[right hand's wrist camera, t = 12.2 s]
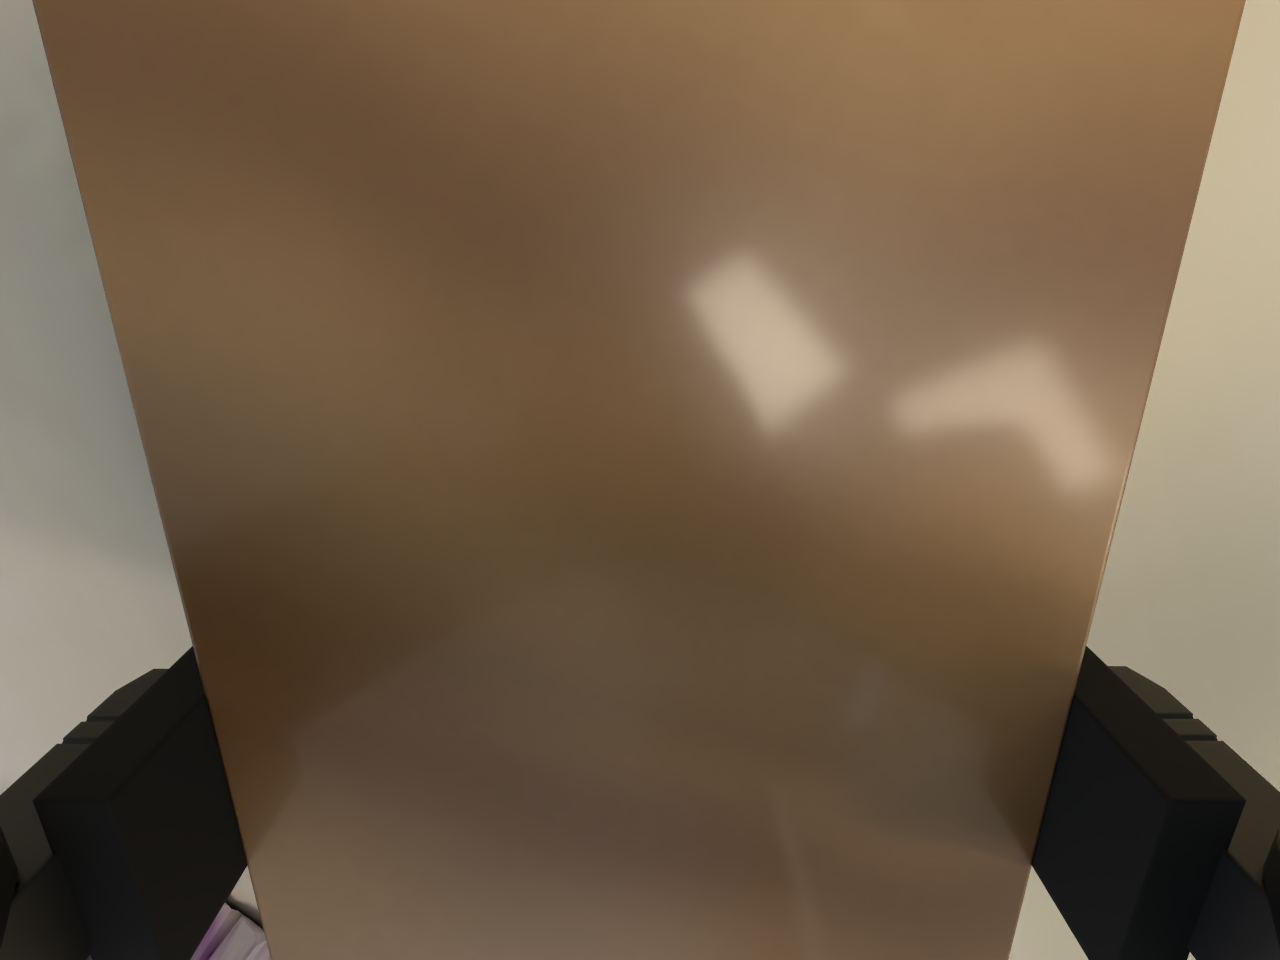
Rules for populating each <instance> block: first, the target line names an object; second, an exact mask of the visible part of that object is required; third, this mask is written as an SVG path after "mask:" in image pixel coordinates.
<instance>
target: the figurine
mask: <svg viewBox="0 0 1280 960" xmlns="http://www.w3.org/2000/svg"><path fill="white" fill-rule="evenodd" d="M86 960H92V958H91V955H89V956H88V958H87V959H86ZM190 960H271V958H270V954H269V949H268V945H267V941H266V937H265V933H264V931H263V930H262V929H261V928H260V927H259V926H257V925H256V924H255V923H254V922H253V921H251V920H250V919H249V918H247V917H246V916H244V915H242V914H241V913H240V912H239V911H237V910H233V909H231V908H230V907H229V906H228V905H227V904H226V903H224V905H223V906H222V908H221V910H220V911H219V913H218V915H217V916H216V918H215V920H214V921H213V923H212V925H211V926H210V928H209V930H208V931H207V933H206V935H205V936H204V938H203V940H202V941H201V943H200V945H199V946H198V948H197V949H196V951H195V953H194V954H193V956H192V958H191V959H190Z"/></svg>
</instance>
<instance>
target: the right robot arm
mask: <svg viewBox="0 0 1280 960" xmlns="http://www.w3.org/2000/svg"><path fill="white" fill-rule="evenodd" d="M1216 737H1217V735H1216V734H1214V733H1213V732H1212V731H1211V730H1210V729H1209V728H1208V727H1207V726H1206V725H1204V724H1203V723H1202V722H1201V721H1200V720H1199V719H1194V718H1193V714H1192V713H1191V712H1190V711H1189V710H1188V709H1187V708H1186V707H1184V706H1183V705H1182V704H1181V703H1180V702H1179V701H1178V700H1177V699H1176V698H1174V697H1173V696H1172V695H1171V694H1170V693H1169V692H1168V691H1167V690H1166V689H1165V688H1163V687H1161V686H1159V685H1158V684H1156V683H1154V682H1152V681H1151V680H1149V679H1147V678H1145V677H1144V676H1142V675H1140V674H1138V673H1137V672H1135V671H1133V670H1131V669H1130V668H1128V667H1126V666H1107V665H1106V664H1105V663H1104V662H1103V661H1101V660H1100V659H1099V658H1098V657H1097V656H1096V655H1095V654H1094V653H1093V652H1092V651H1091V650H1090V649H1089V648H1088V647H1087V646H1086V647H1085V651H1084V655H1083V659H1082V663H1081V667H1080V671H1079V675H1078V679H1077V684H1076V688H1075V692H1074V696H1073V700H1072V704H1071V708H1070V712H1069V716H1068V720H1067V724H1066V728H1065V732H1064V736H1063V740H1062V744H1061V748H1060V752H1059V756H1058V760H1057V764H1056V768H1055V772H1054V776H1053V781H1052V785H1051V789H1050V793H1049V797H1048V801H1047V805H1046V809H1045V813H1044V817H1043V821H1042V825H1041V829H1040V833H1039V837H1038V841H1037V845H1036V849H1035V853H1034V857H1033V861H1032V866H1033V868H1034V870H1035V871H1036V873H1037V875H1038V876H1039V878H1040V879H1041V881H1042V883H1043V884H1044V886H1045V888H1046V889H1047V891H1048V893H1049V894H1050V896H1051V898H1052V899H1053V901H1054V903H1055V904H1056V906H1057V908H1058V909H1059V911H1060V913H1061V914H1062V916H1063V918H1064V919H1065V921H1066V923H1067V924H1068V926H1069V928H1070V929H1071V931H1072V933H1073V934H1074V936H1075V938H1076V939H1077V941H1078V942H1079V944H1080V946H1081V947H1082V949H1083V951H1084V952H1085V954H1086V956H1087V957H1088V959H1089V960H1187V958H1188V955H1189V953H1190V952H1191V953H1192V955H1193V956H1194V957H1195V959H1196V960H1280V792H1279V791H1278V790H1277V789H1275V788H1274V787H1273V786H1272V785H1271V784H1270V783H1269V782H1268V781H1267V780H1265V779H1264V778H1263V777H1262V776H1261V775H1260V774H1259V773H1258V772H1257V771H1255V770H1254V769H1253V768H1252V767H1251V766H1250V765H1249V764H1248V763H1247V762H1246V761H1244V760H1243V759H1242V758H1241V757H1240V756H1239V755H1238V754H1237V753H1236V752H1234V751H1233V750H1232V749H1231V748H1230V747H1229V746H1228V745H1227V744H1226V743H1224V742H1223V741H1218V740H1217V738H1216ZM246 867H247V861H246V857H245V853H244V849H243V845H242V841H241V837H240V833H239V829H238V825H237V821H236V817H235V813H234V809H233V805H232V801H231V797H230V793H229V789H228V785H227V781H226V777H225V773H224V769H223V764H222V760H221V756H220V752H219V748H218V744H217V740H216V736H215V732H214V728H213V724H212V720H211V716H210V712H209V708H208V704H207V700H206V696H205V692H204V688H203V684H202V680H201V676H200V672H199V668H198V664H197V660H196V656H195V652H194V648H193V646H192V647H191V648H190V649H189V650H188V651H187V652H186V653H185V654H184V655H183V656H182V657H181V658H180V659H179V660H178V661H177V662H176V663H175V664H174V665H173V666H171V667H170V668H169V669H153V670H151V671H149V672H148V673H146V674H144V675H142V676H141V677H139V678H137V679H135V680H134V681H132V682H130V683H128V684H127V685H125V686H123V687H121V688H120V689H118V690H116V691H115V692H114V693H113V694H112V695H110V696H109V697H108V698H107V699H106V700H105V701H104V702H103V703H102V704H101V705H99V706H98V707H97V708H96V709H95V710H94V711H93V712H92V713H91V714H89V715H88V716H87V721H86V722H81V723H80V724H78V725H77V726H76V727H75V728H74V729H73V730H72V731H71V732H70V733H69V734H67V735H66V736H65V737H64V738H63V743H62V744H56V745H55V746H54V747H53V748H52V749H51V750H50V751H49V752H48V753H46V754H45V755H44V756H43V757H42V758H41V759H40V760H39V761H38V762H37V763H35V764H34V765H33V766H32V767H31V768H30V769H29V770H28V771H27V772H26V773H24V774H23V775H22V776H21V777H20V778H19V779H18V780H17V781H16V782H15V783H13V784H12V785H11V786H10V787H9V788H8V789H7V790H6V791H5V792H3V793H2V794H1V795H0V960H86V959H87V958H88V956H89V955H91V958H92V960H190V959H191V958H192V956H193V954H194V953H195V951H196V949H197V948H198V946H199V945H200V943H201V941H202V940H203V938H204V936H205V935H206V933H207V931H208V930H209V928H210V926H211V925H212V923H213V921H214V920H215V918H216V916H217V915H218V913H219V911H220V910H221V908H222V906H223V905H224V903H225V901H226V900H227V898H228V896H229V895H230V893H231V891H232V890H233V888H234V886H235V885H236V883H237V882H238V880H239V878H240V877H241V875H242V873H243V872H244V870H245V868H246Z"/></svg>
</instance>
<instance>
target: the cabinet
mask: <svg viewBox="0 0 1280 960" xmlns="http://www.w3.org/2000/svg"><path fill="white" fill-rule="evenodd" d="M33 4H34V8H35V12H36V16H37V20H38V24H39V29H40V33H41V37H42V41H43V45H44V49H45V53H46V57H47V61H48V65H49V69H50V73H51V77H52V81H53V85H54V89H55V93H56V97H57V101H58V105H59V109H60V113H61V117H62V121H63V125H64V129H65V133H66V137H67V141H68V145H69V149H70V153H71V157H72V161H73V165H74V169H75V173H76V177H77V181H78V185H79V189H80V193H81V197H82V201H83V205H84V209H85V214H86V218H87V222H88V226H89V230H90V234H91V238H92V242H93V246H94V250H95V254H96V258H97V262H98V266H99V270H100V274H101V278H102V282H103V286H104V290H105V294H106V298H107V302H108V306H109V310H110V314H111V318H112V322H113V326H114V330H115V334H116V338H117V342H118V346H119V350H120V354H121V358H122V362H123V366H124V370H125V374H126V378H127V382H128V386H129V390H130V394H131V399H132V403H133V407H134V411H135V415H136V419H137V423H138V427H139V431H140V435H141V439H142V443H143V447H144V451H145V455H146V459H147V463H148V467H149V471H150V475H151V479H152V483H153V487H154V491H155V495H156V499H157V503H158V507H159V511H160V515H161V519H162V523H163V527H164V531H165V535H166V539H167V543H168V547H169V551H170V555H171V559H172V563H173V567H174V571H175V575H176V579H177V584H178V588H179V592H180V596H181V600H182V604H183V608H184V612H185V616H186V620H187V624H188V628H189V632H190V636H191V640H192V644H193V648H194V652H195V656H196V660H197V664H198V668H199V672H200V676H201V680H202V684H203V688H204V692H205V696H206V700H207V704H208V708H209V712H210V716H211V720H212V724H213V728H214V732H215V736H216V740H217V744H218V748H219V752H220V756H221V760H222V764H223V769H224V773H225V777H226V781H227V785H228V789H229V793H230V797H231V801H232V805H233V809H234V813H235V817H236V821H237V825H238V829H239V833H240V837H241V841H242V845H243V849H244V853H245V857H246V861H247V865H248V869H249V873H250V877H251V881H252V885H253V889H254V893H255V897H256V901H257V905H258V909H259V913H260V917H261V921H262V925H263V929H264V933H265V937H266V941H267V945H268V949H269V954H270V958H271V960H1008V958H1009V954H1010V950H1011V946H1012V942H1013V938H1014V934H1015V930H1016V926H1017V922H1018V918H1019V914H1020V910H1021V906H1022V902H1023V898H1024V894H1025V890H1026V886H1027V882H1028V878H1029V873H1030V869H1031V865H1032V861H1033V857H1034V853H1035V849H1036V845H1037V841H1038V837H1039V833H1040V829H1041V825H1042V821H1043V817H1044V813H1045V809H1046V805H1047V801H1048V797H1049V793H1050V789H1051V785H1052V781H1053V776H1054V772H1055V768H1056V764H1057V760H1058V756H1059V752H1060V748H1061V744H1062V740H1063V736H1064V732H1065V728H1066V724H1067V720H1068V716H1069V712H1070V708H1071V704H1072V700H1073V696H1074V692H1075V688H1076V684H1077V679H1078V675H1079V671H1080V667H1081V663H1082V659H1083V655H1084V651H1085V647H1086V643H1087V639H1088V635H1089V631H1090V627H1091V623H1092V619H1093V615H1094V611H1095V607H1096V603H1097V599H1098V595H1099V591H1100V587H1101V582H1102V578H1103V574H1104V570H1105V566H1106V562H1107V558H1108V554H1109V550H1110V546H1111V542H1112V538H1113V534H1114V530H1115V526H1116V522H1117V518H1118V514H1119V510H1120V506H1121V502H1122V498H1123V494H1124V490H1125V485H1126V481H1127V477H1128V473H1129V469H1130V465H1131V461H1132V457H1133V453H1134V449H1135V445H1136V441H1137V437H1138V433H1139V429H1140V425H1141V421H1142V417H1143V413H1144V409H1145V405H1146V401H1147V397H1148V393H1149V388H1150V384H1151V380H1152V376H1153V372H1154V368H1155V364H1156V360H1157V356H1158V352H1159V348H1160V344H1161V340H1162V336H1163V332H1164V328H1165V324H1166V320H1167V316H1168V312H1169V308H1170V304H1171V300H1172V296H1173V291H1174V287H1175V283H1176V279H1177V275H1178V271H1179V267H1180V263H1181V259H1182V255H1183V251H1184V247H1185V243H1186V239H1187V235H1188V231H1189V227H1190V223H1191V219H1192V215H1193V211H1194V207H1195V203H1196V199H1197V194H1198V190H1199V186H1200V182H1201V178H1202V174H1203V170H1204V166H1205V162H1206V158H1207V154H1208V150H1209V146H1210V142H1211V138H1212V134H1213V130H1214V126H1215V122H1216V118H1217V114H1218V110H1219V106H1220V102H1221V97H1222V93H1223V89H1224V85H1225V81H1226V77H1227V73H1228V69H1229V65H1230V61H1231V57H1232V53H1233V49H1234V45H1235V41H1236V37H1237V33H1238V29H1239V25H1240V21H1241V17H1242V13H1243V9H1244V5H1245V0H33Z"/></svg>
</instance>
